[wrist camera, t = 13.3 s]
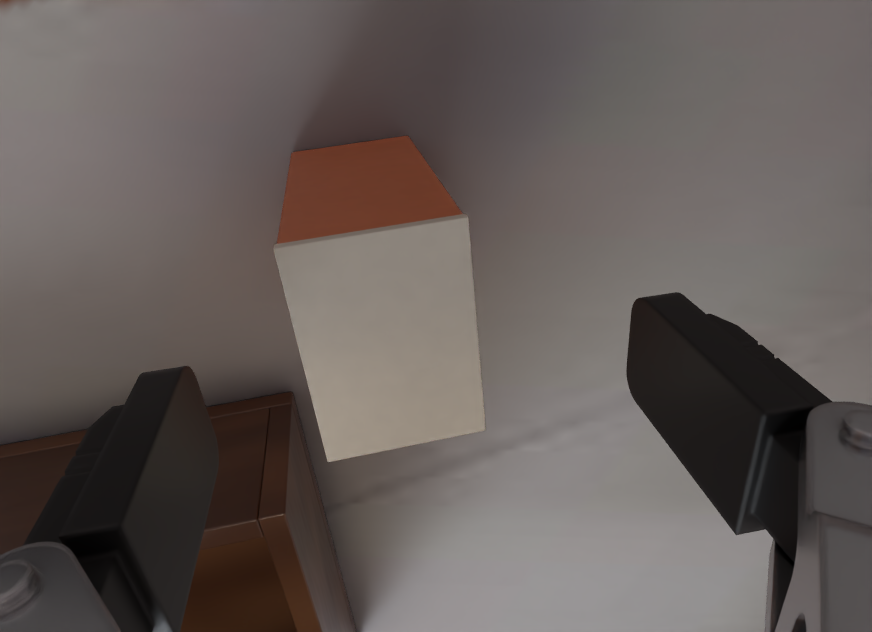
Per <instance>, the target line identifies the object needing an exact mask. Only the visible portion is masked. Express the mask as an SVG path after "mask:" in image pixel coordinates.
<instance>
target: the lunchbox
mask: <svg viewBox="0 0 872 632" xmlns="http://www.w3.org/2000/svg"><path fill="white" fill-rule="evenodd" d="M206 408H207V411H208V414H209V417H210V420H211V423H212V426H213V429H214V432H215V435H216V438H217V443H218V450H219V468H218V473H217V478H216V482H215V486H214V490H213V495H212V499H211V503H210V507H209V511H208V516H207V520H206V524H205V528H204V533H203V537H202V541H201V545H200V550H199V554H198V558H197V562H196V566H195V571H194V575H193V579H192V583H191V588H190V592H189V596H188V600H187V605H186V609H185V613H184V617H183V622H182V626H181V630H180V632H357V631H356V627H355V624H354V620H353V616H352V612H351V609H350V605H349V601H348V597H347V594H346V590H345V586H344V582H343V579H342V575H341V571H340V568H339V564H338V560H337V556H336V553H335V549H334V545H333V541H332V538H331V534H330V530H329V526H328V523H327V519H326V515H325V512H324V508H323V504H322V500H321V497H320V493H319V489H318V485H317V482H316V478H315V474H314V470H313V467H312V463H311V459H310V456H309V452H308V448H307V444H306V441H305V437H304V433H303V429H302V426H301V422H300V418H299V415H298V411H297V407H296V403H295V400H294V396H293V393H292V392H287V393H281V394H276V395H270V396H265V397H260V398H254V399H249V400H243V401H238V402H233V403H227V404H222V405H216V406H211V407H206ZM87 430H88V429H87ZM87 430H82V431H76V432H71V433H65V434H60V435H55V436H49V437H44V438H38V439H33V440H28V441H22V442H17V443H11V444H6V445H1V446H0V555H2V554H4V553H6V552H8V551H10V550H13V549H15V548H18V547H21V546H23V544H24V542H25V541H26V539H27V537H28V535H29V534H30V532H31V530H32V528H33V526H34V525H35V523H36V521H37V519H38V517H39V516H40V514H41V512H42V510H43V509H44V507H45V505H46V503H47V501H48V500H49V498H50V496H51V494H52V492H53V491H54V489H55V487H56V485H57V484H58V482H59V480H60V478H61V476H65V469H66V467H67V466H68V464H69V462H70V460H71V459H72V457H73V456H76V452H75V451H76V450H77V448H78V446H79V444H80V442H81V441H82V439H83V437H84V435H85V434H86V432H87Z"/></svg>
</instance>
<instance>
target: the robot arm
mask: <svg viewBox="0 0 872 632" xmlns="http://www.w3.org/2000/svg"><path fill="white" fill-rule="evenodd" d="M627 380H628V385H629V389H630V392H631V394H632V396H633V398H634V400H635V402H636V403H637V404H638V406H639V407H640V408H641V410H642V411H643V412H644V414H645V415H646V416H647V418H648V419H649V420H650V422H651V423H652V424H653V426H654V427H655V428H656V430H657V431H658V432H659V433H660V435H661V436H662V437H663V439H664V440H665V441H666V443H667V444H668V445H669V447H670V448H671V449H672V451H673V452H674V453H675V455H676V456H677V457H678V459H679V460H680V461H681V463H682V464H683V465H684V467H685V468H686V469H687V471H688V472H689V473H690V475H691V476H692V477H693V479H694V480H695V481H696V483H697V484H698V485H699V486H700V488H701V489H702V490H703V492H704V493H705V494H706V496H707V497H708V498H709V500H710V501H711V502H712V504H713V505H714V506H715V508H716V509H717V510H718V512H719V513H720V514H721V516H722V517H723V518H724V520H725V521H726V522H727V524H728V525H729V526H730V528H731V529H732V530H733V532H734V533H735V534H736V535H739V534H744V533H749V532H754V531H759V530H764V529H766V530H767V531H768V532H769V534H770V535H771V536H772V537H773V542H772V546H771V550H770V555H769V569H768V585H767V601H766V616H765V632H872V406H871V405H866V404H861V403H855V402H832V401H831V400H830V399H828V398H827V397H826V396H825V395H823V394H822V393H821V392H820V391H818V390H817V389H816V388H815V387H813V386H812V385H811V384H810V383H808V382H807V381H806V380H805V379H803V378H802V377H801V376H800V375H799V374H797V373H796V372H795V371H794V370H792V369H791V368H790V367H789V366H787V365H786V364H785V363H784V362H782V361H781V360H780V359H779V358H776V359H775V358H774V354H772V353H771V352H770V351H769V350H767V349H766V348H765V347H764V346H763V345H758V341H756V340H755V339H754V338H753V337H751V336H750V335H749V334H748V333H746V332H745V331H744V330H743V329H741V328H740V327H739V326H738V325H735V324H733V323H731V322H728V321H726V320H724V319H721V318H719V317H717V316H715V315H712V314H705V313H704V312H703V311H702V310H700V309H699V308H698V307H697V306H696V305H694V304H693V303H692V302H691V301H690V300H688V299H687V298H686V297H685V296H684V295H682V294H681V293H677V292H675V293H669V294H662V295H656V296H649V297H643V298H638V299H636V300H635V302H634V304H633V307H632V312H631V323H630V334H629V346H628V357H627ZM75 452H76V456H73V457H72V459H71V460H70V462H69V464H68V466H67V467H66V469H65V476H61V478H60V480H59V482H58V484H57V485H56V487H55V489H54V491H53V492H52V494H51V496H50V498H49V500H48V501H47V503H46V505H45V507H44V509H43V510H42V512H41V514H40V516H39V517H38V519H37V521H36V523H35V525H34V526H33V528H32V530H31V532H30V534H29V535H28V537H27V539H26V541H25V542H24V544H23V546H21V547H18V548H15V549H13V550H10V551H8V552H6V553H4V554H2V555H0V632H180V630H181V626H182V622H183V617H184V613H185V609H186V605H187V600H188V596H189V592H190V588H191V583H192V579H193V575H194V571H195V566H196V562H197V558H198V554H199V550H200V545H201V541H202V537H203V533H204V528H205V524H206V520H207V516H208V511H209V507H210V503H211V499H212V495H213V490H214V486H215V482H216V478H217V473H218V468H219V450H218V443H217V438H216V435H215V432H214V429H213V426H212V423H211V420H210V417H209V414H208V411H207V408H206V405H205V402H204V399H203V397H202V394H201V391H200V388H199V385H198V382H197V379H196V376H195V374H194V372H193V371H192V369H191V368H190V367H188V366H184V367H177V368H171V369H164V370H158V371H151V372H145V373H142V374H141V375H140V376H139V377H138V379H137V381H136V383H135V385H134V387H133V389H132V391H131V393H130V395H129V397H128V399H127V401H126V403H125V405H120V406H113V407H111V408H110V409H109V410H108V411H107V412H106V413H105V414H104V415H103V416H102V417H100V418H99V419H98V420H97V421H96V422H95V423H94V424H93V425H92V426H90V427H89V428H88V430H87V432H86V434H85V435H84V437H83V439H82V441H81V442H80V444H79V446H78V448H77V450H76V451H75Z"/></svg>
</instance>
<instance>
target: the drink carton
mask: <svg viewBox="0 0 872 632" xmlns="http://www.w3.org/2000/svg"><path fill="white" fill-rule="evenodd" d="M273 250H274V254H275V258H276V262H277V266H278V270H279V274H280V278H281V282H282V286H283V290H284V294H285V297H286V301H287V305H288V309H289V313H290V317H291V321H292V325H293V329H294V333H295V337H296V341H297V344H298V348H299V352H300V356H301V360H302V364H303V368H304V372H305V376H306V380H307V384H308V388H309V391H310V395H311V399H312V403H313V407H314V411H315V415H316V419H317V423H318V427H319V431H320V435H321V438H322V442H323V446H324V450H325V454H326V458H327V461H328V462H332V461H337V460H342V459H347V458H352V457H357V456H362V455H367V454H372V453H377V452H382V451H387V450H391V449H396V448H401V447H406V446H411V445H416V444H421V443H426V442H431V441H436V440H441V439H446V438H451V437H456V436H461V435H466V434H471V433H475V432H480V431H485V430H486V426H485V413H484V401H483V389H482V377H481V364H480V352H479V340H478V328H477V315H476V303H475V291H474V278H473V266H472V254H471V242H470V229H469V218H468V216H467V215H466V214H463V213H462V212H461V211H460V209H459V208H458V206H457V205H456V203H455V202H454V201H453V199H452V198H451V196H450V195H449V193H448V192H447V191H446V189H445V188H444V186H443V185H442V183H441V182H440V181H439V179H438V178H437V176H436V175H435V173H434V172H433V171H432V169H431V168H430V166H429V165H428V163H427V162H426V161H425V159H424V158H423V156H422V155H421V153H420V152H419V151H418V149H417V148H416V146H415V145H414V143H413V142H412V141H411V139H410V138H409V136H401V137H394V138H387V139H380V140H373V141H366V142H360V143H353V144H346V145H339V146H332V147H325V148H318V149H311V150H305V151H298V152H293V153H291V159H290V165H289V171H288V177H287V184H286V190H285V196H284V202H283V208H282V214H281V221H280V227H279V233H278V239H277V244H275V245H274V248H273Z"/></svg>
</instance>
